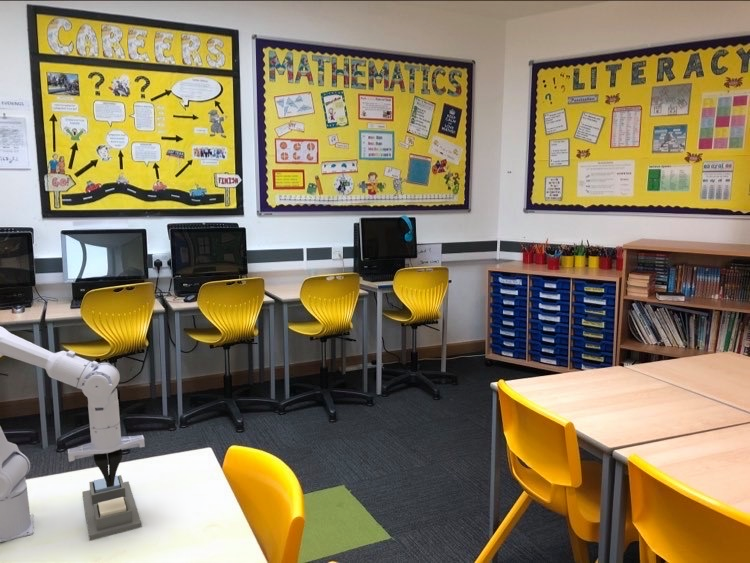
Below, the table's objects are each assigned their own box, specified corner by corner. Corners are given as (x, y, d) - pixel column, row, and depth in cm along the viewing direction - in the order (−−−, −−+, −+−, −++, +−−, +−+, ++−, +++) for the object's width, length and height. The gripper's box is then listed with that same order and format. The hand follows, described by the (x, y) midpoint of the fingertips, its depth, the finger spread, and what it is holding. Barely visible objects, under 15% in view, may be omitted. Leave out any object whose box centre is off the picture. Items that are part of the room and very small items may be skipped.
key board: (89, 540, 126) (88, 524, 125) (82, 495, 143) (81, 481, 142) (141, 526, 130) (140, 511, 130) (128, 485, 148) (127, 471, 147)
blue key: (96, 498, 138) (95, 490, 137) (94, 488, 142) (93, 480, 142) (120, 492, 140) (119, 484, 140) (117, 483, 144) (117, 475, 144)
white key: (101, 522, 128) (100, 514, 128) (98, 511, 132) (98, 502, 132) (126, 516, 130) (126, 507, 130) (123, 505, 135) (123, 496, 134)
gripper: (139, 410, 135) (143, 468, 137) (64, 423, 128) (70, 484, 130) (144, 422, 129) (148, 482, 131) (66, 436, 122) (72, 500, 124)
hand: (110, 484), depth 130 cm, fingers closed
